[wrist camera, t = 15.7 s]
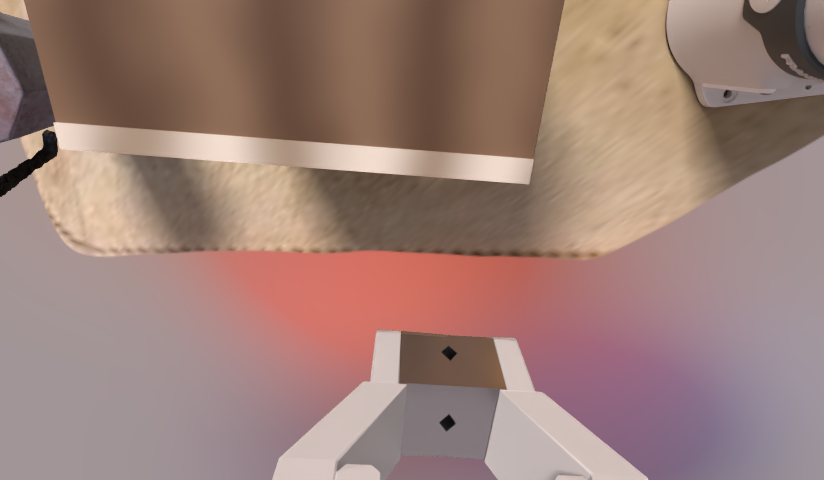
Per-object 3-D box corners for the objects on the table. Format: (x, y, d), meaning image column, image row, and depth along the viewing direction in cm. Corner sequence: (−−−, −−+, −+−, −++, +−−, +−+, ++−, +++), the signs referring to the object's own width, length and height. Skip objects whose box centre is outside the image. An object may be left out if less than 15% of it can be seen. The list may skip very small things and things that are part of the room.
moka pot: (154, -1, 41) (-52, -36, 23) (171, 158, 47) (20, 231, 29) (49, -16, 40) (-248, -64, 22) (81, 147, 47) (-130, 215, 28)
